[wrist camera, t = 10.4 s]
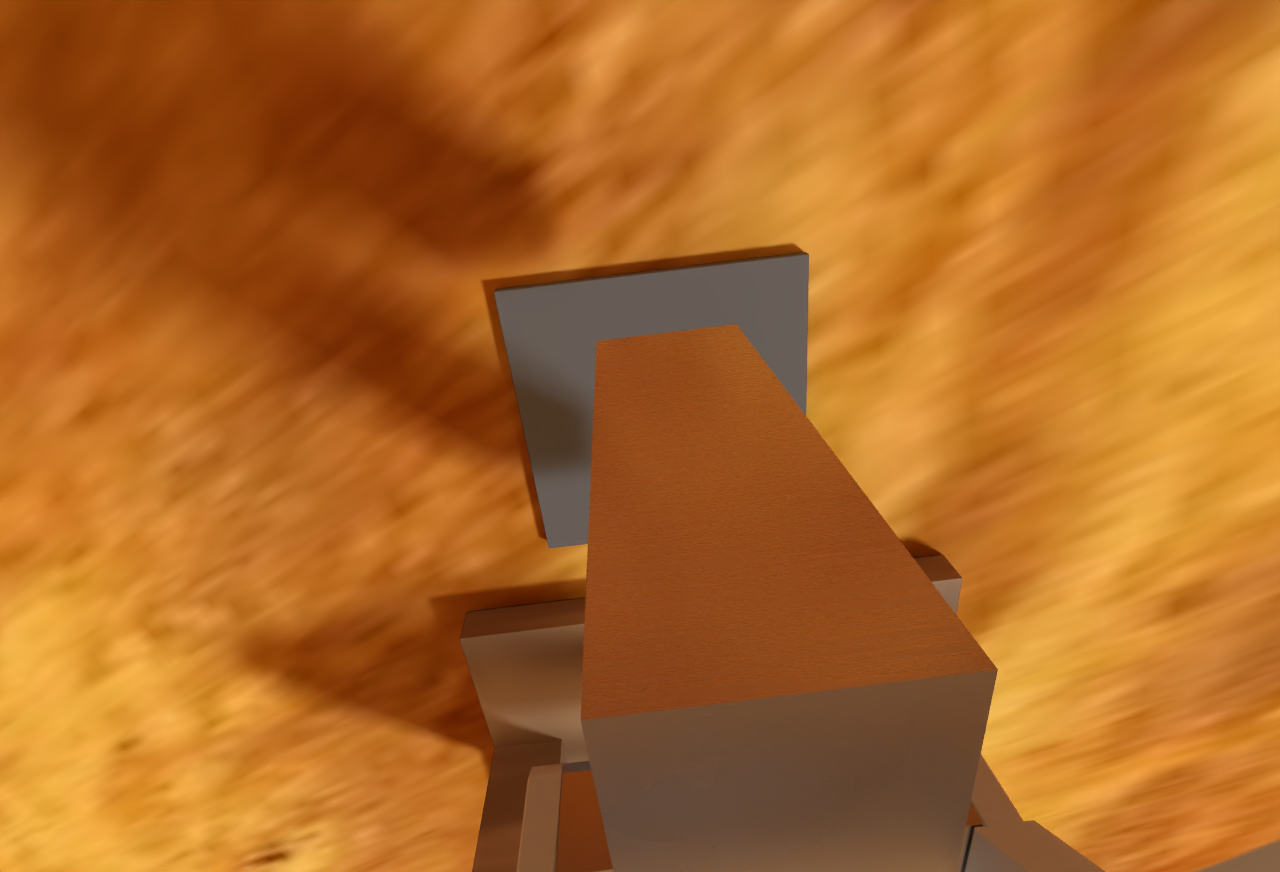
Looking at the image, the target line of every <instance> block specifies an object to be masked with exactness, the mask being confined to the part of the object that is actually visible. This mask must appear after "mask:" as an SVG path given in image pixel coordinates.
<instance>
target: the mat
mask: <svg viewBox="0 0 1280 872" xmlns="http://www.w3.org/2000/svg"><path fill="white" fill-rule="evenodd" d="M808 277H809V254H807V253H806V252H803V253H795V254H786V255H778V256H770V257H761V258H753V259H745V260H736V261H728V262H720V263H711V264H703V265H695V266H686V267H678V268H669V269H661V270H653V271H644V272H636V273H628V274H619V275H611V276H603V277H594V278H586V279H578V280H569V281H561V282H553V283H544V284H536V285H528V286H519V287H511V288H503V289H496V290H495V291H494V295H495V300H496V304H497V309H498V314H499V318H500V323H501V328H502V332H503V337H504V342H505V346H506V351H507V356H508V360H509V365H510V369H511V374H512V379H513V383H514V388H515V393H516V397H517V402H518V407H519V411H520V416H521V421H522V425H523V430H524V435H525V439H526V444H527V449H528V453H529V458H530V463H531V467H532V472H533V476H534V481H535V486H536V490H537V495H538V500H539V504H540V509H541V514H542V518H543V523H544V528H545V532H546V537H547V542H548V546H549V548H556V547H564V546H573V545H581V544H588V530H589V506H590V482H591V458H592V434H593V410H594V387H595V363H596V341H601V340H609V339H618V338H626V337H634V336H642V335H650V334H659V333H667V332H675V331H683V330H691V329H700V328H708V327H716V326H724V325H732V324H737V325H738V327H739V328H740V329H741V331H742V332H743V333H744V335H745V336H746V337H747V339H748V340H749V341H750V343H751V344H752V345H753V347H754V348H755V349H756V351H757V352H758V353H759V355H760V356H761V357H762V359H763V360H764V361H765V363H766V364H767V365H768V366H769V368H770V369H771V370H772V372H773V373H774V374H775V376H776V377H777V378H778V380H779V381H780V382H781V384H782V385H783V386H784V388H785V389H786V390H787V392H788V393H789V394H790V396H791V397H792V398H793V400H794V401H795V402H796V404H797V405H798V406H799V407H800V409H801V410H802V411H803V413H804V414H805V415H806V390H807V334H808Z"/></svg>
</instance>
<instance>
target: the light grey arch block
mask: <svg viewBox="0 0 1280 872" xmlns="http://www.w3.org/2000/svg"><path fill="white" fill-rule="evenodd" d="M997 670H998V669H997V668H996V667H995V665H994V664H993V663H992V661H991V660H990V659H989V657H988V656H987V655H986V653H985V652H984V651H983V649H982V648H981V647H980V646H979V644H978V643H977V642H976V640H975V639H974V638H973V636H972V635H971V634H970V632H969V631H968V630H967V628H966V627H965V626H964V624H963V623H962V622H961V620H960V619H959V618H958V616H957V615H956V614H955V612H954V611H953V610H952V608H951V607H950V606H949V605H948V603H947V602H946V601H945V599H944V598H943V597H942V595H941V594H940V593H939V591H938V590H937V589H936V587H935V586H934V585H933V583H932V582H931V581H930V579H929V578H928V577H927V575H926V574H925V573H924V571H923V570H922V569H921V567H920V566H919V565H918V564H917V562H916V561H915V560H914V558H913V557H912V556H911V554H910V553H909V552H908V550H907V549H906V548H905V546H904V545H903V544H902V542H901V541H900V540H899V538H898V537H897V536H896V534H895V533H894V532H893V530H892V529H891V528H890V526H889V525H888V524H887V523H886V521H885V520H884V519H883V517H882V516H881V515H880V513H879V512H878V511H877V509H876V508H875V507H874V505H873V504H872V503H871V501H870V500H869V499H868V497H867V496H866V495H865V493H864V492H863V491H862V489H861V488H860V487H859V485H858V484H857V483H856V482H855V480H854V479H853V478H852V476H851V475H850V474H849V472H848V471H847V470H846V468H845V467H844V466H843V464H842V463H841V462H840V460H839V459H838V458H837V456H836V455H835V454H834V452H833V451H832V450H831V448H830V447H829V446H828V445H827V443H826V442H825V441H824V439H823V438H822V437H821V435H820V434H819V433H818V431H817V430H816V429H815V427H814V426H813V425H812V423H811V422H810V421H809V419H808V418H807V417H806V415H805V414H804V413H803V411H802V410H801V409H800V407H799V406H798V405H797V404H796V402H795V401H794V400H793V398H792V397H791V396H790V394H789V393H788V392H787V390H786V389H785V388H784V386H783V385H782V384H781V382H780V381H779V380H778V378H777V377H776V376H775V374H774V373H773V372H772V370H771V369H770V368H769V366H768V365H767V364H766V363H765V361H764V360H763V359H762V357H761V356H760V355H759V353H758V352H757V351H756V349H755V348H754V347H753V345H752V344H751V343H750V341H749V340H748V339H747V337H746V336H745V335H744V333H743V332H742V331H741V329H740V328H739V327H738V325H737V324H732V325H724V326H716V327H708V328H700V329H691V330H683V331H675V332H667V333H659V334H650V335H642V336H634V337H626V338H618V339H609V340H601V341H596V363H595V387H594V410H593V434H592V458H591V482H590V506H589V530H588V554H587V578H586V602H585V626H584V650H583V674H582V698H581V725H582V730H583V734H584V739H585V743H586V748H587V752H588V757H589V761H590V766H591V771H592V775H593V780H594V784H595V789H596V793H597V798H598V802H599V807H600V811H601V816H602V821H603V825H604V830H605V834H606V839H607V843H608V848H609V852H610V857H611V861H612V866H613V871H614V872H956V871H957V866H958V861H959V856H960V851H961V847H962V842H963V837H964V832H965V827H966V822H967V817H968V812H969V807H970V803H971V798H972V793H973V788H974V783H975V778H976V773H977V768H978V763H979V759H980V754H981V749H982V744H983V739H984V734H985V729H986V724H987V719H988V715H989V710H990V705H991V700H992V695H993V690H994V685H995V680H996V675H997Z"/></svg>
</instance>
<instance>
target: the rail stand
mask: <svg viewBox="0 0 1280 872" xmlns="http://www.w3.org/2000/svg"><path fill="white" fill-rule="evenodd" d="M914 560H915V561H916V562H917V564H918V565H919V566H920V567H921V569H922V570H923V571H924V573H925V574H926V575H927V577H928V578H929V579H930V581H931V582H932V583H933V585H934V586H935V587H936V589H937V590H938V591H939V593H940V594H941V595H942V597H943V598H944V599H945V601H946V602H947V603H948V605H949V606H950V607H951V608H952V610H953V611H954V612H955V614H956V612H957V606H958V600H959V594H960V588H961V582H962V577H961V576H960V575H959V574H958V572H957V571H956V570H955V569H954V567H953V566H952V565H951V564H950V563H949V561H948V560H947V559H946V558H945V556H944V555H935V556H927V557H919V558H914ZM585 602H586V598H580V599H571V600H563V601H555V602H547V603H538V604H530V605H522V606H513V607H505V608H497V609H489V610H480V611H472V612H467V613H466V617H465V620H464V624H463V627H462V631H461V634H460V638H459V640H460V643H461V646H462V649H463V652H464V655H465V658H466V662H467V665H468V668H469V671H470V674H471V677H472V680H473V683H474V686H475V689H476V692H477V695H478V699H479V702H480V705H481V708H482V711H483V714H484V717H485V720H486V723H487V726H488V729H489V733H490V736H491V739H492V742H493V745H494V753H493V758H492V764H491V769H490V775H489V780H488V786H487V792H486V797H485V803H484V808H483V814H482V819H481V825H480V831H479V836H478V842H477V847H476V853H475V858H474V864H473V870H472V872H517V864H518V855H519V847H520V839H521V831H522V823H523V815H524V807H525V799H526V790H527V782H528V777H529V774H530V771H531V768H532V767H535V766H544V765H552V764H560V763H572V762H582V761H589V757H588V752H587V748H586V743H585V739H584V734H583V730H582V725H581V698H582V674H583V650H584V626H585Z"/></svg>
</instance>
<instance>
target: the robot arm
mask: <svg viewBox="0 0 1280 872" xmlns="http://www.w3.org/2000/svg"><path fill="white" fill-rule="evenodd" d="M517 872H614V871H613V866H612V861H611V857H610V852H609V848H608V843H607V839H606V834H605V830H604V825H603V821H602V816H601V811H600V807H599V802H598V798H597V793H596V789H595V784H594V780H593V775H592V771H591V766H590V761H582V762H572V763H560V764H552V765H544V766H535V767H532V768H531V771H530V774H529V777H528V782H527V790H526V799H525V807H524V815H523V823H522V831H521V839H520V847H519V855H518V864H517ZM956 872H1105V871H1104V870H1102V869H1101V868H1100V867H1098V866H1097V865H1095V864H1094V863H1093V862H1091V861H1090V860H1088V859H1087V858H1086V857H1084V856H1083V855H1082V854H1080V853H1079V852H1077V851H1076V850H1075V849H1073V848H1072V847H1070V846H1069V845H1068V844H1066V843H1065V842H1063V841H1062V840H1061V839H1059V838H1058V837H1056V836H1055V835H1054V834H1052V833H1051V832H1050V831H1048V830H1047V829H1045V828H1044V827H1043V826H1041V825H1040V824H1038V823H1037V822H1036V821H1034V820H1033V821H1023V820H1022V818H1021V816H1020V815H1019V813H1018V812H1017V810H1016V808H1015V807H1014V805H1013V804H1012V802H1011V801H1010V799H1009V797H1008V796H1007V794H1006V793H1005V791H1004V789H1003V788H1002V786H1001V785H1000V783H999V782H998V780H997V778H996V777H995V775H994V774H993V772H992V770H991V769H990V767H989V766H988V764H987V762H986V761H985V759H984V758H983V756H982V755H981V754H980V759H979V763H978V768H977V773H976V778H975V783H974V788H973V793H972V798H971V803H970V807H969V812H968V817H967V822H966V827H965V832H964V837H963V842H962V847H961V851H960V856H959V861H958V866H957V871H956Z"/></svg>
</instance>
